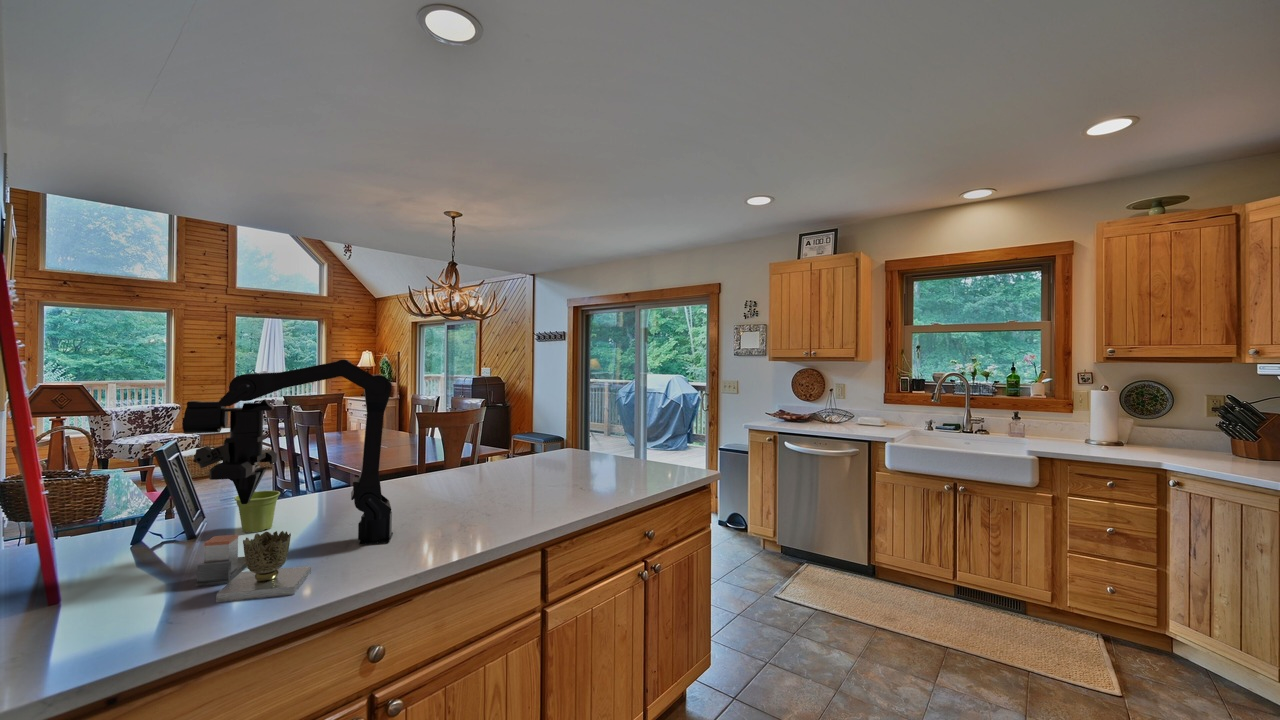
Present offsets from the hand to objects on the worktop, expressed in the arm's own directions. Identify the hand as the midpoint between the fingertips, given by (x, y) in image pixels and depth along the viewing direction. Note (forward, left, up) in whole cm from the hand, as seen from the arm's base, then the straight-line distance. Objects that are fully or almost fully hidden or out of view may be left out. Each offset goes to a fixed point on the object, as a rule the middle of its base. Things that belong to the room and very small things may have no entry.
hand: (245, 503), depth 113 cm
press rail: (0, +8, -12) cm, 14 cm away
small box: (0, +11, -11) cm, 15 cm away
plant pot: (+5, -21, -12) cm, 25 cm away
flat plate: (-10, +18, -12) cm, 24 cm away
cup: (-10, +18, -10) cm, 23 cm away
